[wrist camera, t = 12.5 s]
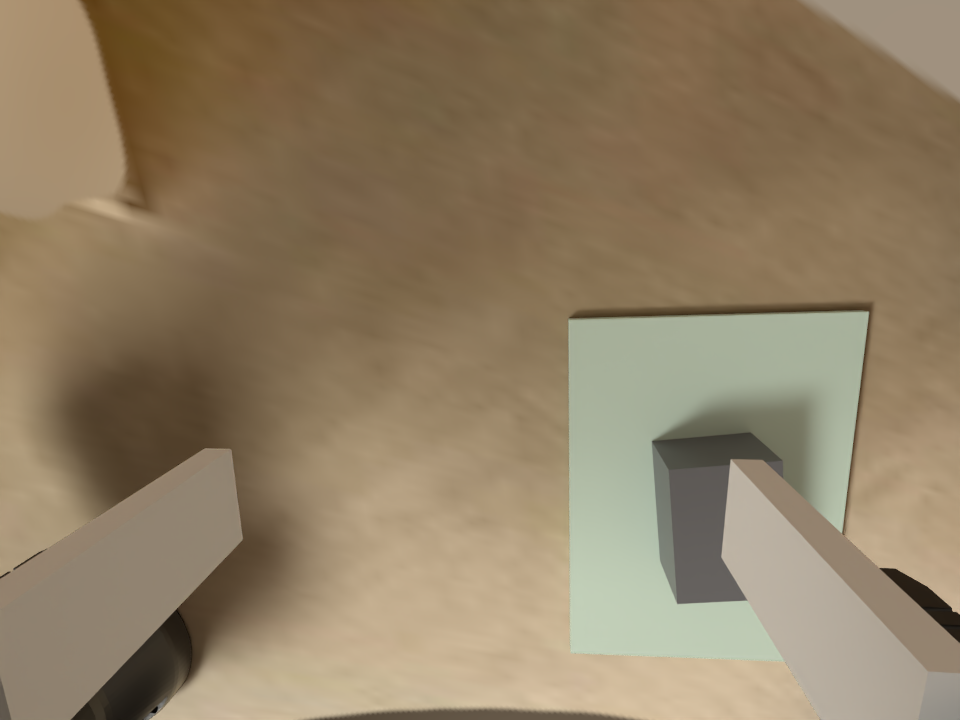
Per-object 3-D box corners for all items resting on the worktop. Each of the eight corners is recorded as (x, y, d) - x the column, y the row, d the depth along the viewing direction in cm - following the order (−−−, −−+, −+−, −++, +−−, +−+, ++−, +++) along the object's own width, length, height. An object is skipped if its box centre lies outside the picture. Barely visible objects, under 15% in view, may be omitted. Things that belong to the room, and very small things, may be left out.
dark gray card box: (651, 441, 39) (668, 469, 34) (750, 432, 38) (782, 460, 33) (659, 560, 41) (677, 603, 36) (754, 555, 40) (784, 598, 35)
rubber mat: (570, 645, 44) (570, 653, 43) (568, 318, 38) (569, 319, 37) (820, 655, 42) (826, 663, 41) (861, 310, 36) (869, 311, 35)
